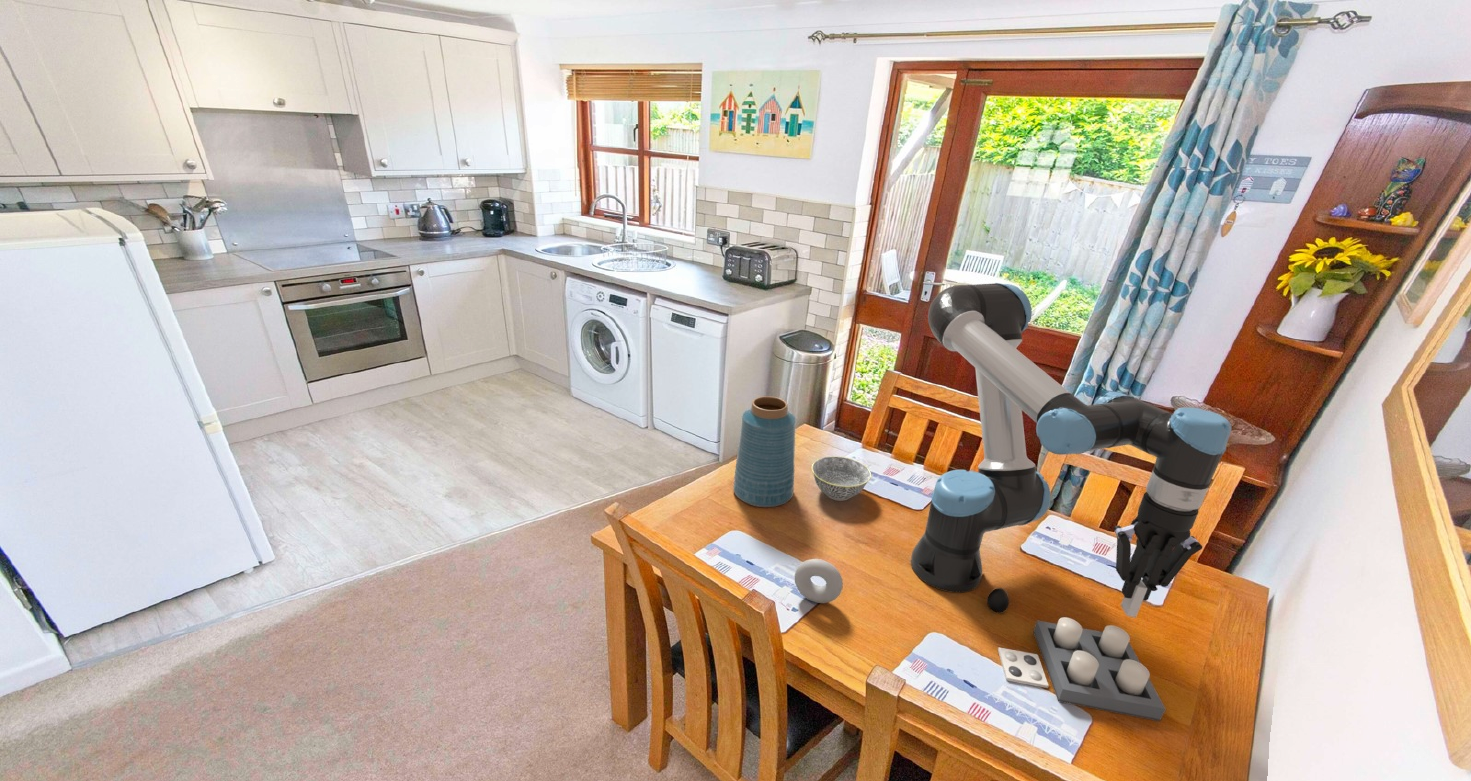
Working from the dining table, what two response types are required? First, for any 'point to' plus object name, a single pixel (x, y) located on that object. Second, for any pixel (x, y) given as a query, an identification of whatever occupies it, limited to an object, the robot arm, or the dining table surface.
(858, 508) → the dining table surface
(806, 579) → the donut
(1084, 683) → the button
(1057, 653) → the board
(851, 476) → the bowl
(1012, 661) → the card
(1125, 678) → the button
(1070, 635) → the button
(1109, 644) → the button
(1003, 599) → the egg
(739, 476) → the vase
